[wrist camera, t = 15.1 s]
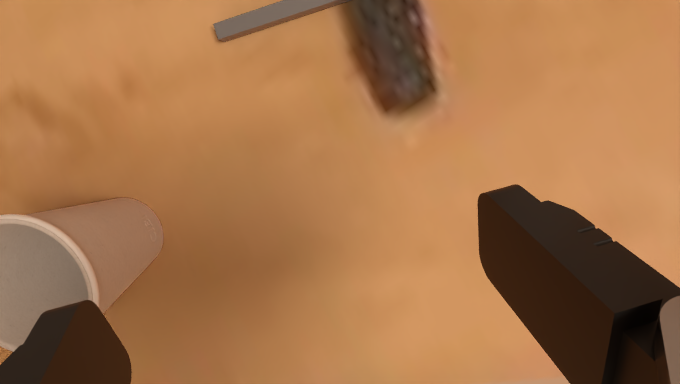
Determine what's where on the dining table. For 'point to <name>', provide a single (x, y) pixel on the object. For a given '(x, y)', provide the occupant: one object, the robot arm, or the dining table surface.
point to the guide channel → (269, 17)
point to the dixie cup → (71, 259)
